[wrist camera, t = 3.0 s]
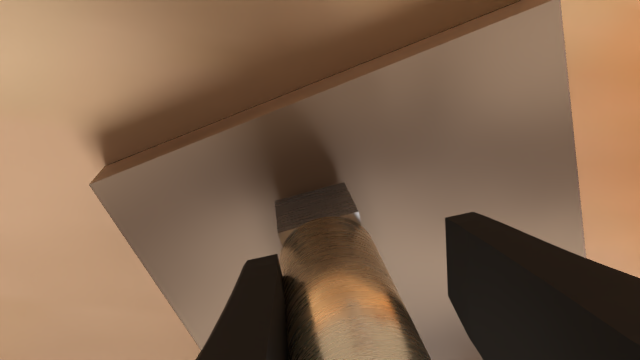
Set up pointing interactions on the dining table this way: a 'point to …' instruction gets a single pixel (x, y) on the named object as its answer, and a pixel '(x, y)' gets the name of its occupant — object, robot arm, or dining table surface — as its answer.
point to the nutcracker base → (370, 168)
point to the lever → (338, 284)
